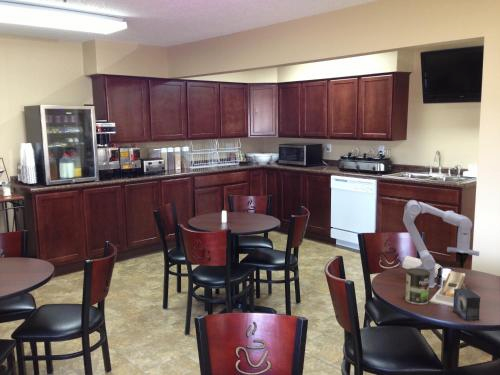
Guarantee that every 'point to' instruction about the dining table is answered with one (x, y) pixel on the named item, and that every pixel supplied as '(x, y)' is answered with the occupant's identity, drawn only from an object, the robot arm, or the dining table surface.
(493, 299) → the dining table surface
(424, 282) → the coffee can
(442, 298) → the beige flat block
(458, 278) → the lever
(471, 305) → the small box
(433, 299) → the lever base
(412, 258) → the crystal
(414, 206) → the robot arm
